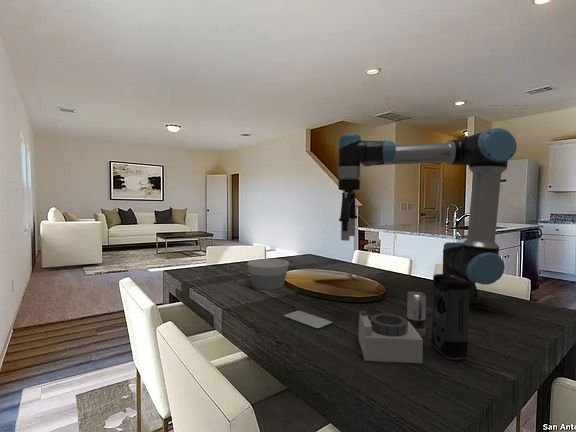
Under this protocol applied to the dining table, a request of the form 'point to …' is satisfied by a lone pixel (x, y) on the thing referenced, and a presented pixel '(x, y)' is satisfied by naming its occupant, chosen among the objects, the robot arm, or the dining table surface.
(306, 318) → the smartphone
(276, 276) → the bowl
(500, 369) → the dining table surface
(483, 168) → the robot arm
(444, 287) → the electronic device
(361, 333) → the grey base with ring
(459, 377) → the dining table surface
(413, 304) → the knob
